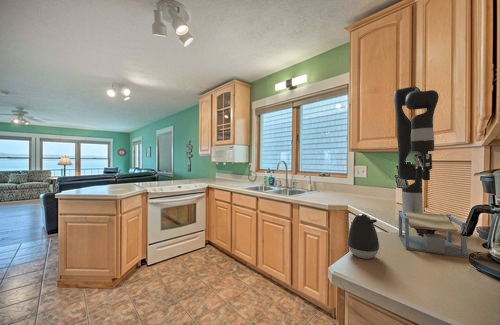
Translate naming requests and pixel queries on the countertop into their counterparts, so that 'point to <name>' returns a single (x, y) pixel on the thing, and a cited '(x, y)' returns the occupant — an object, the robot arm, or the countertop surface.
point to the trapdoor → (430, 222)
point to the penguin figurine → (363, 237)
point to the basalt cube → (434, 243)
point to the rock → (425, 231)
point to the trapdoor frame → (418, 242)
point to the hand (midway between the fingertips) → (422, 179)
